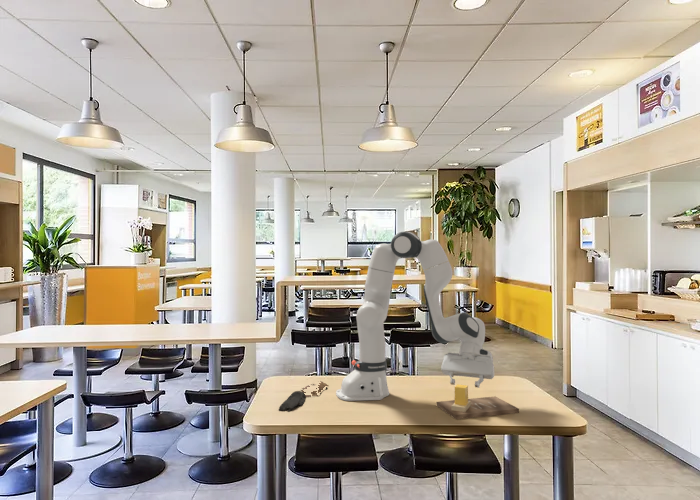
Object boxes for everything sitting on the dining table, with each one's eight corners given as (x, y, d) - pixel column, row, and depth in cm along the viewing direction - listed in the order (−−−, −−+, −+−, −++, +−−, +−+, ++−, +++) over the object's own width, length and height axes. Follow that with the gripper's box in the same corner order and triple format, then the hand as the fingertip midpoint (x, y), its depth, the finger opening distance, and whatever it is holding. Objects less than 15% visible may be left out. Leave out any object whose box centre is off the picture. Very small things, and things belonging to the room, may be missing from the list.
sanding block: (465, 412, 180) (464, 390, 180) (451, 410, 182) (451, 388, 182) (471, 405, 188) (470, 384, 188) (458, 403, 190) (458, 382, 190)
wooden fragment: (317, 399, 202) (317, 396, 202) (292, 397, 205) (292, 395, 205) (334, 383, 227) (334, 380, 227) (311, 381, 230) (311, 379, 230)
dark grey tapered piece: (296, 413, 185) (296, 405, 185) (277, 412, 186) (277, 403, 186) (312, 396, 207) (312, 388, 207) (295, 395, 208) (295, 387, 208)
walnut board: (455, 419, 177) (455, 415, 177) (436, 405, 192) (436, 401, 192) (519, 412, 184) (519, 408, 184) (495, 400, 199) (495, 396, 199)
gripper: (443, 348, 200) (436, 377, 191) (494, 352, 190) (490, 383, 182) (446, 356, 204) (439, 386, 195) (497, 361, 194) (492, 392, 186)
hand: (464, 385), depth 188 cm, fingers open, 8 cm apart
